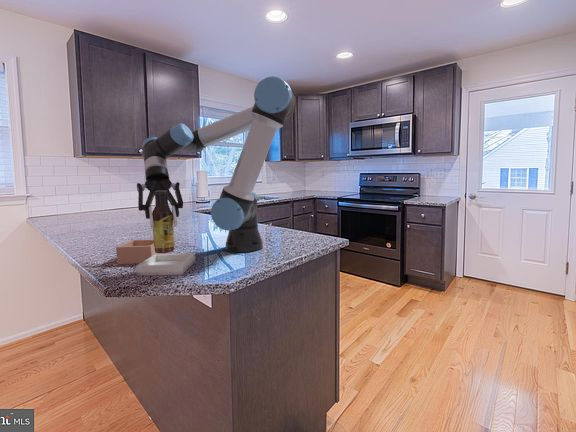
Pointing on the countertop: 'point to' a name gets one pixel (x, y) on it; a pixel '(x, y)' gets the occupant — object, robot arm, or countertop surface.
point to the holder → (135, 251)
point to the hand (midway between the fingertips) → (164, 224)
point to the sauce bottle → (162, 224)
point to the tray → (166, 264)
